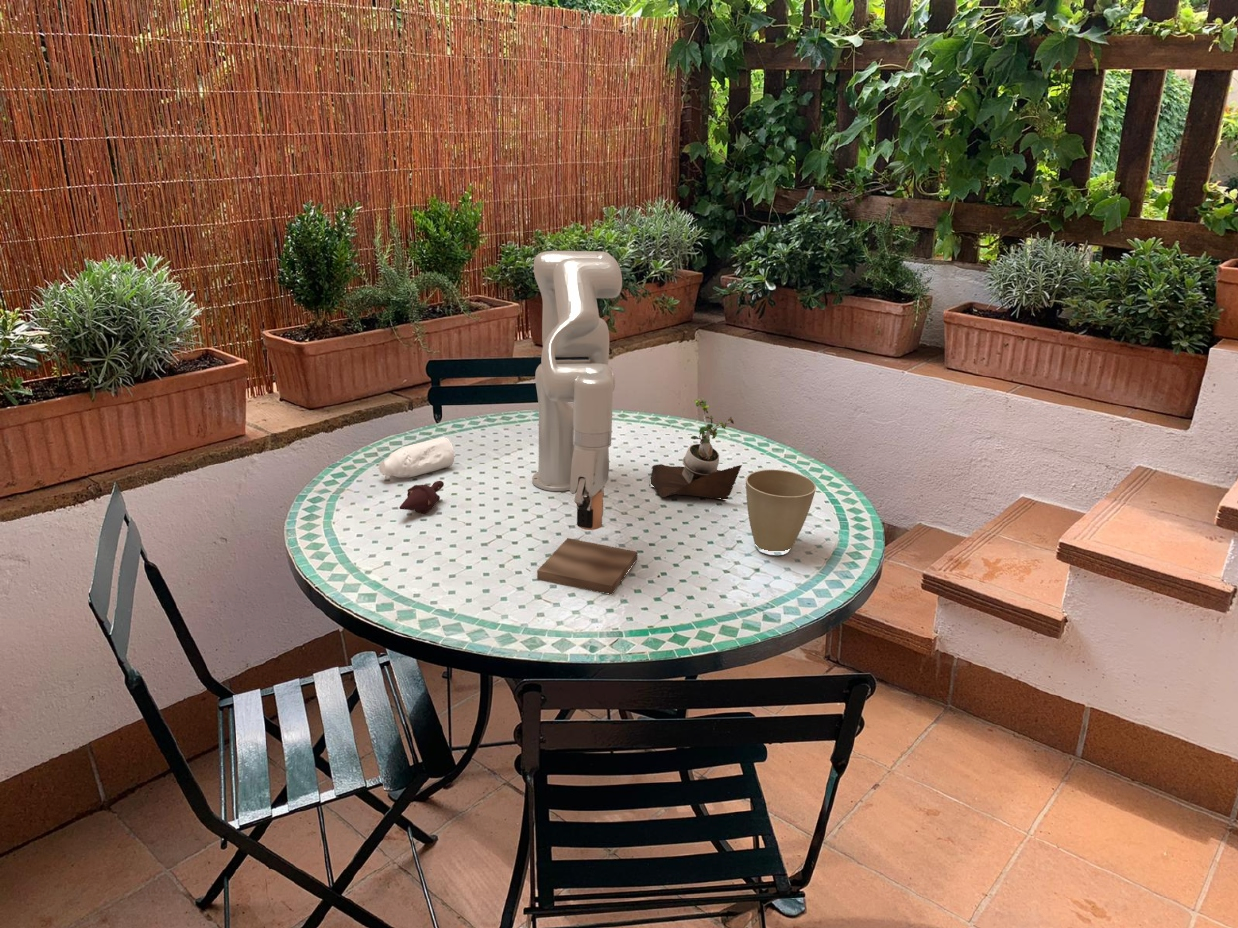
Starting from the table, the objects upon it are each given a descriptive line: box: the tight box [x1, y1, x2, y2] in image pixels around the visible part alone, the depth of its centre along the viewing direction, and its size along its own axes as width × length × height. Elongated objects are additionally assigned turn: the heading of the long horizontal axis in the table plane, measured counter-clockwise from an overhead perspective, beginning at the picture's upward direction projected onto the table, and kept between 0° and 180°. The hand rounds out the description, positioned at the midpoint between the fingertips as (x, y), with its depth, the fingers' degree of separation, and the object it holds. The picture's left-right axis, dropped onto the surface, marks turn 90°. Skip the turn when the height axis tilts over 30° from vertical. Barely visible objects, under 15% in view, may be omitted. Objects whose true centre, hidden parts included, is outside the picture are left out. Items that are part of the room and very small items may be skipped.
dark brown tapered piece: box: [398, 480, 445, 515], centre depth 213 cm, size 7×7×15 cm
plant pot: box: [745, 469, 817, 551], centre depth 200 cm, size 15×15×16 cm
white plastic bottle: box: [377, 436, 456, 479], centre depth 234 cm, size 8×19×8 cm, turn 133°
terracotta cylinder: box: [577, 490, 604, 531], centre depth 186 cm, size 5×5×7 cm
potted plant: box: [650, 398, 743, 499], centre depth 229 cm, size 20×19×25 cm
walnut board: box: [536, 537, 638, 595], centre depth 191 cm, size 16×16×2 cm
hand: (589, 520), depth 187 cm, fingers closed on terracotta cylinder, 5 cm apart
